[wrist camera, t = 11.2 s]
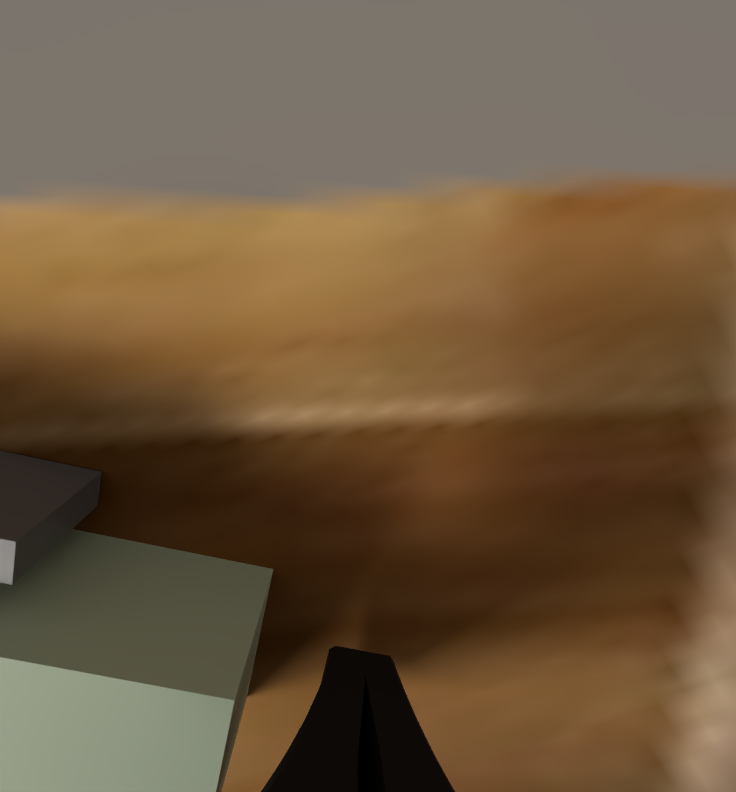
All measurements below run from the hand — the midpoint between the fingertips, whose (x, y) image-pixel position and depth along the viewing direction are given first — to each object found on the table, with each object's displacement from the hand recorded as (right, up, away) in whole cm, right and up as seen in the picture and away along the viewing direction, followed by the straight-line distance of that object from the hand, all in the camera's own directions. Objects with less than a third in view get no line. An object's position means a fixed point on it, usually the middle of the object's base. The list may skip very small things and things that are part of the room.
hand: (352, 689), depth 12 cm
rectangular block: (-6, +2, +1) cm, 6 cm away
